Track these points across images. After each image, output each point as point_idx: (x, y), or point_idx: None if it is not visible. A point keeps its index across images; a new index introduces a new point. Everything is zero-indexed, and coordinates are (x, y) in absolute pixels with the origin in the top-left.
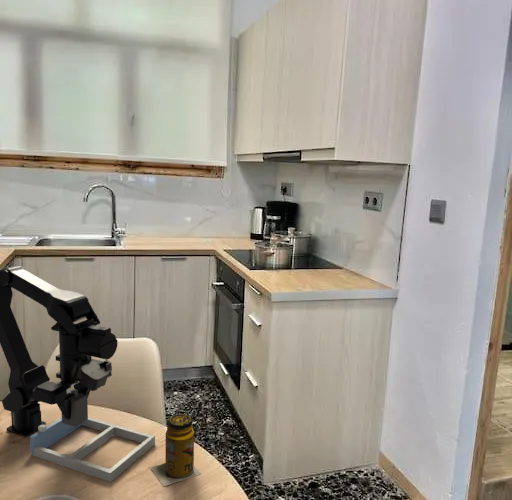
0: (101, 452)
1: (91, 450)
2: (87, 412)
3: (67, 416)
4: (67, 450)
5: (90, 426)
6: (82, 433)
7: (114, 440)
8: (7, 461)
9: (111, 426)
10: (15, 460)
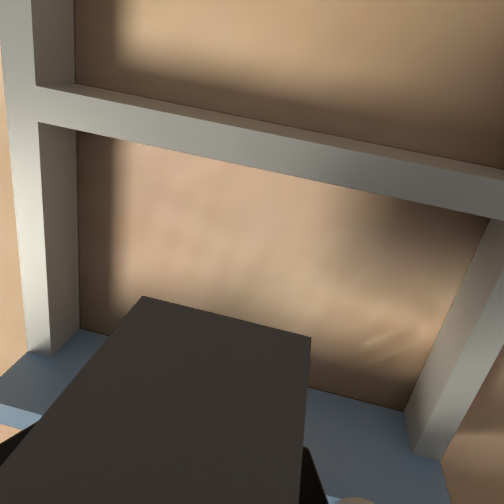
0: (308, 49)
1: (315, 133)
2: (109, 338)
3: (319, 493)
4: (337, 286)
5: (74, 278)
6: (147, 289)
7: (135, 40)
8: (492, 500)
9: (40, 114)
10: (479, 475)
